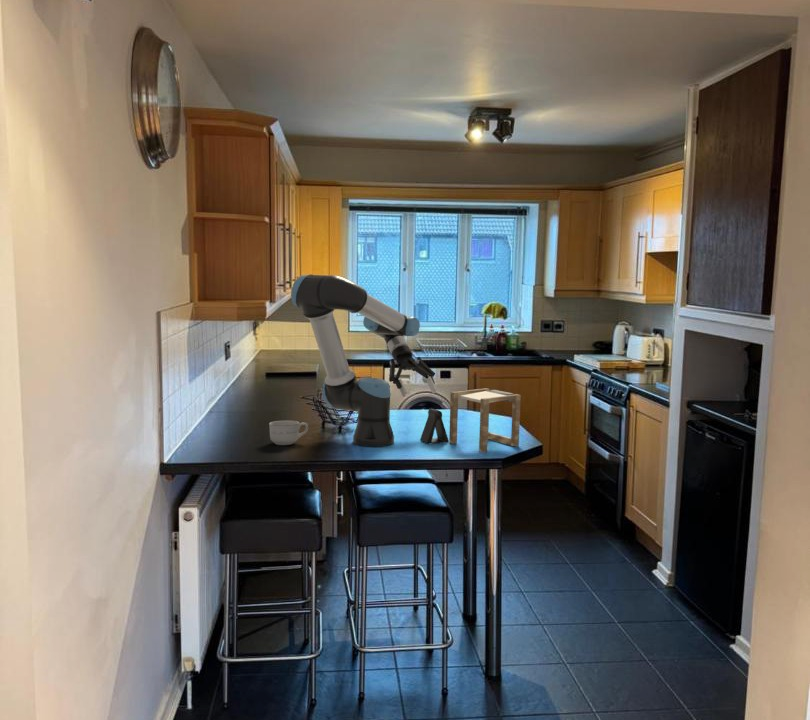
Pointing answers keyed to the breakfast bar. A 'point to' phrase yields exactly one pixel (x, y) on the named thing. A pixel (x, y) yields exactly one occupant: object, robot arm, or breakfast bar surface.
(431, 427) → the phone stand
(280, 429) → the teacup
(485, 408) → the trapdoor frame
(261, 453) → the breakfast bar surface
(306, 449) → the breakfast bar surface
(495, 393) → the trapdoor
